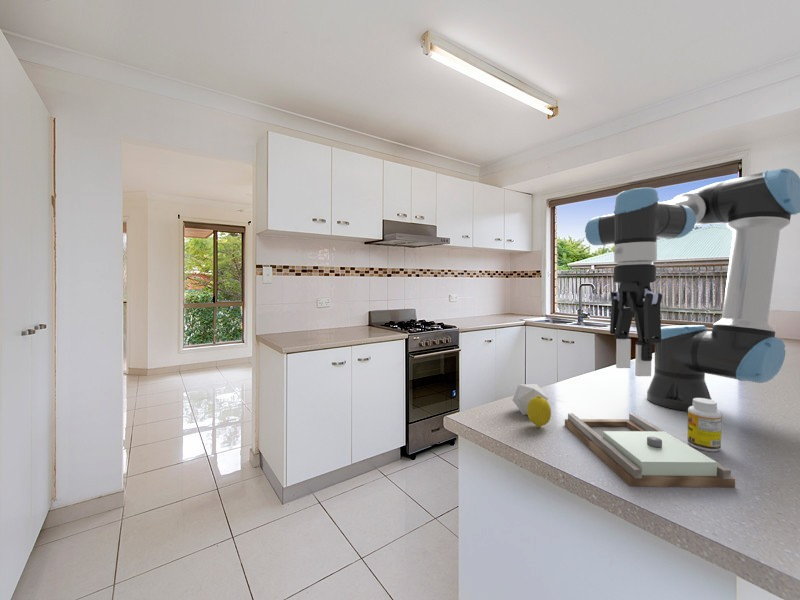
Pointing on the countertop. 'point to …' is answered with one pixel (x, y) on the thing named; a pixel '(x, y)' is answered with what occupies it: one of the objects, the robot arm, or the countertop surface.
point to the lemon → (539, 411)
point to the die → (527, 396)
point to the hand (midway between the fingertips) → (632, 371)
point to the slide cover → (661, 453)
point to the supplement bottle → (704, 425)
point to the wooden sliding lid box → (626, 469)
